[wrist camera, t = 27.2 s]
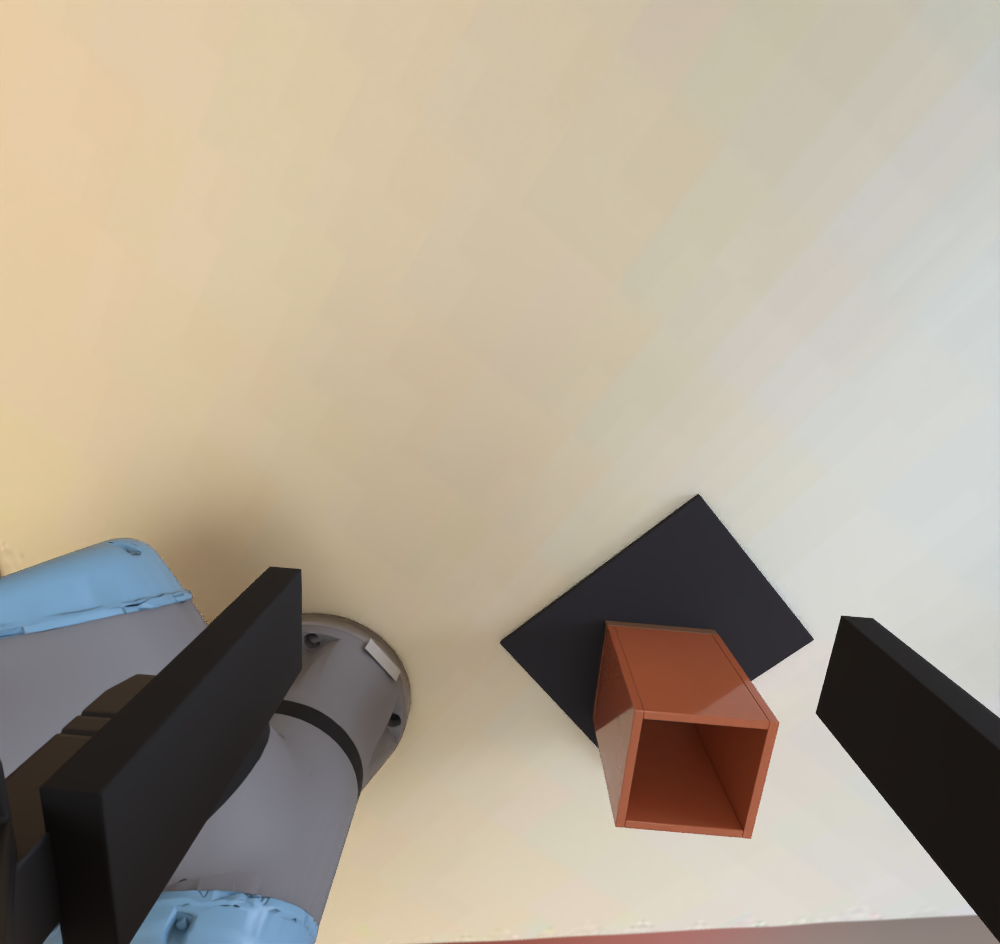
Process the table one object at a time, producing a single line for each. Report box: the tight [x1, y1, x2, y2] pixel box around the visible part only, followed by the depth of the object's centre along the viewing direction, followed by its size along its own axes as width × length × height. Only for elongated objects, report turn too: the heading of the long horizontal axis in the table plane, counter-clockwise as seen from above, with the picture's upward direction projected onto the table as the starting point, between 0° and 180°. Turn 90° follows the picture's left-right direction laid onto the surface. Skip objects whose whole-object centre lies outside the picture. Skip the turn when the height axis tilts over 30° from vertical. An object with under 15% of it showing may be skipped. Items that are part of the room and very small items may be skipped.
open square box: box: [592, 620, 779, 839], centre depth 40 cm, size 11×9×9 cm
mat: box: [501, 494, 814, 748], centre depth 45 cm, size 20×16×1 cm
